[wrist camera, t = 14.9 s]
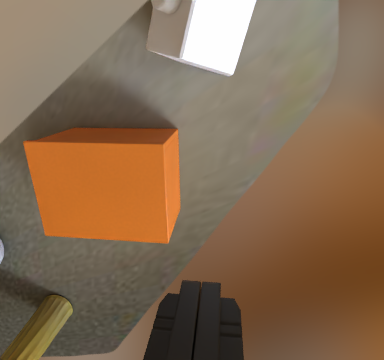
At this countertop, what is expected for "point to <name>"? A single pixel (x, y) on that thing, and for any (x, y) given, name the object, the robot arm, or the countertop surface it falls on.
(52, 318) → the vase
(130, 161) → the lid
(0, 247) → the dark rounded cone
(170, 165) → the box
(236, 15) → the milk carton
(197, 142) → the countertop surface
